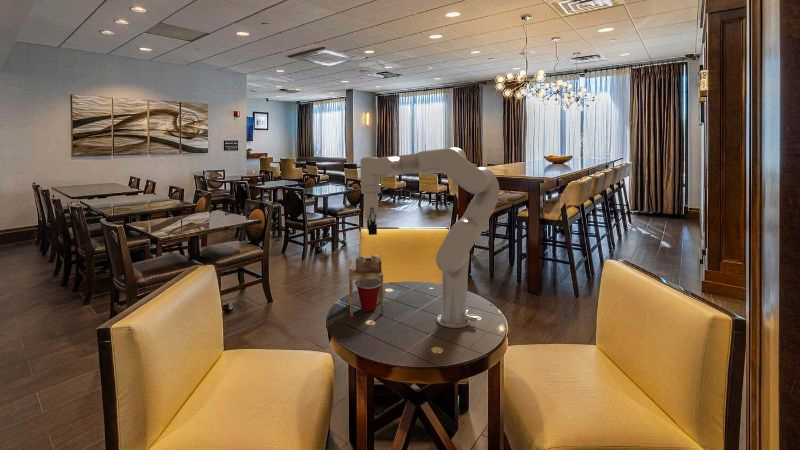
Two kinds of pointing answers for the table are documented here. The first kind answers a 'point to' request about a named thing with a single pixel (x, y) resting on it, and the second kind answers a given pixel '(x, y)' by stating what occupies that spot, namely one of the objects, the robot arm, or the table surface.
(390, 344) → the table surface
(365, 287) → the plastic cup
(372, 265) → the tray
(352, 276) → the tan flanged panel
